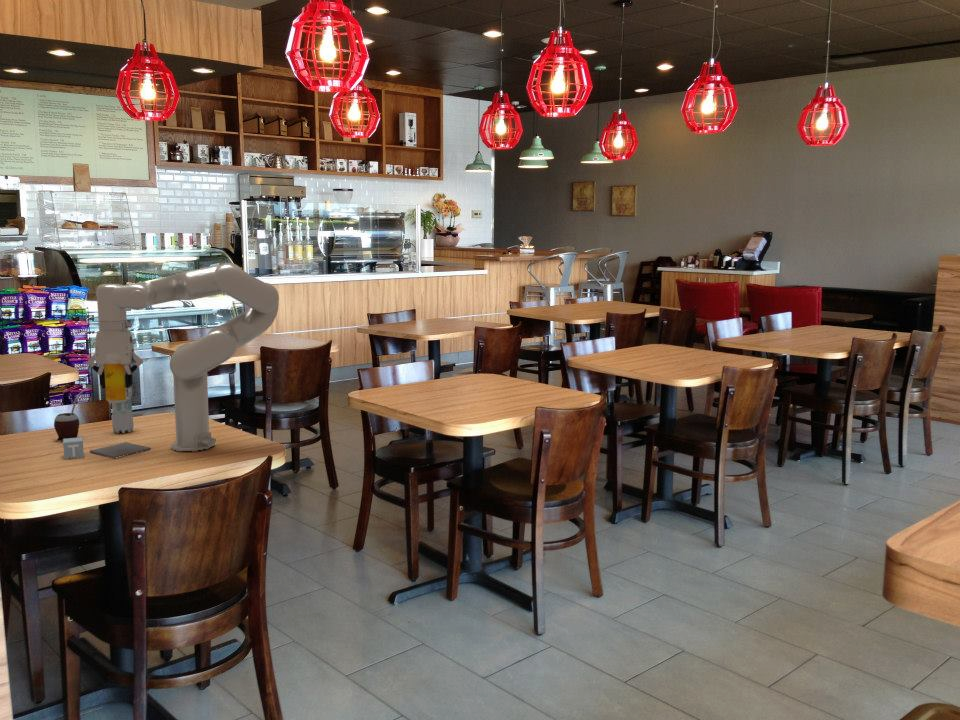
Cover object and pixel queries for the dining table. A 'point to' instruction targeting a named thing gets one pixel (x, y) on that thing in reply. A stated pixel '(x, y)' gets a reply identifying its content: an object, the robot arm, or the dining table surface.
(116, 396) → the beer can
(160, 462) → the dining table surface
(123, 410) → the bottle
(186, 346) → the robot arm
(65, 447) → the letter block
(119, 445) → the coaster
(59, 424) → the mate gourd
